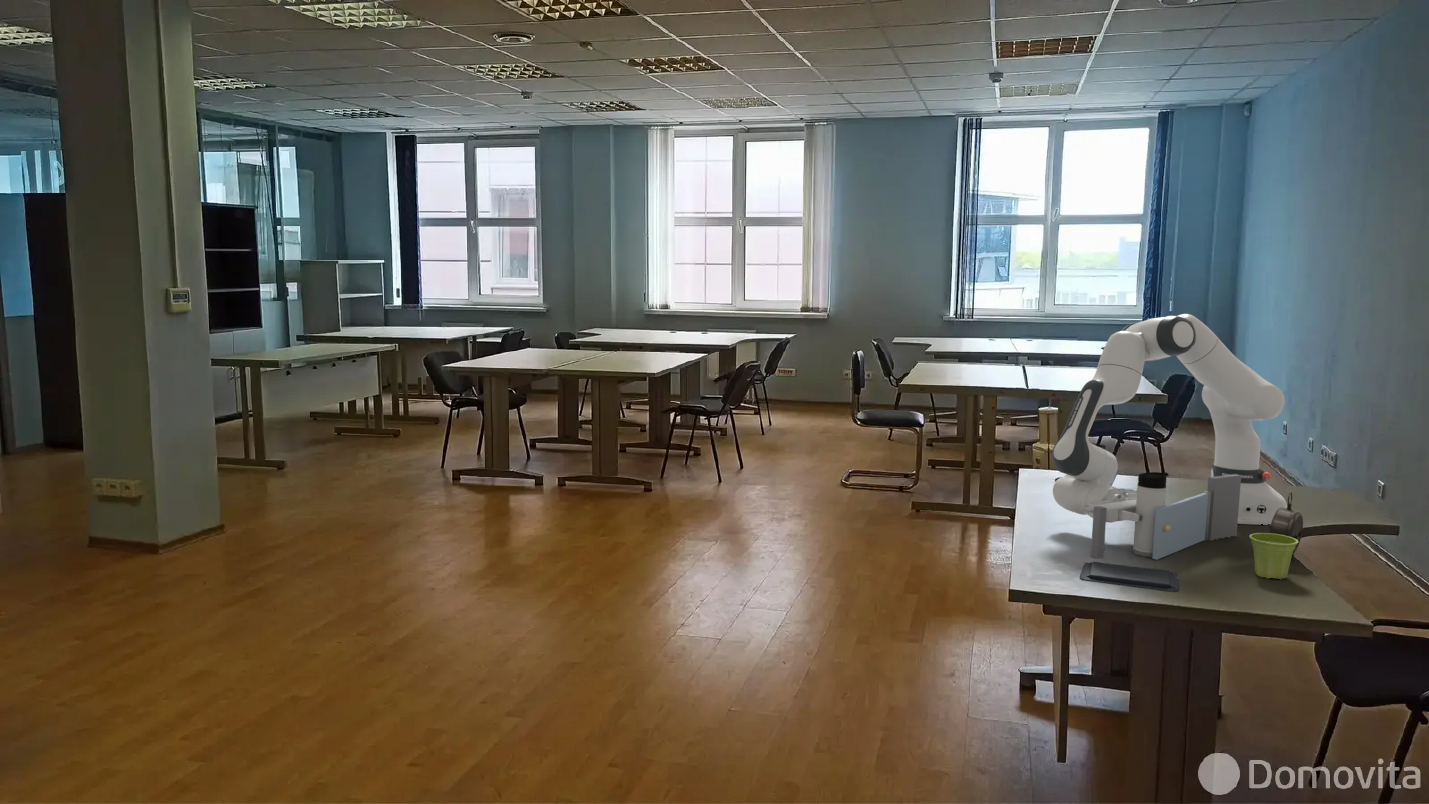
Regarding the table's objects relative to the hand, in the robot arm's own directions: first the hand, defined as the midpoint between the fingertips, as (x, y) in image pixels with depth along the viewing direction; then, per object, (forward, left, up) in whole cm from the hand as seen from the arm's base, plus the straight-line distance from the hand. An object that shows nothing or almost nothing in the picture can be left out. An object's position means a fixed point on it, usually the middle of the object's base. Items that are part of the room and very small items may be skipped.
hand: (1154, 516), depth 233 cm
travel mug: (+1, -1, -10) cm, 10 cm away
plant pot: (-24, +8, -10) cm, 27 cm away
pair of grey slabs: (-4, -11, -9) cm, 15 cm away
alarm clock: (-30, -9, -10) cm, 33 cm away
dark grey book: (+6, +20, -10) cm, 24 cm away
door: (-8, -8, -9) cm, 15 cm away
